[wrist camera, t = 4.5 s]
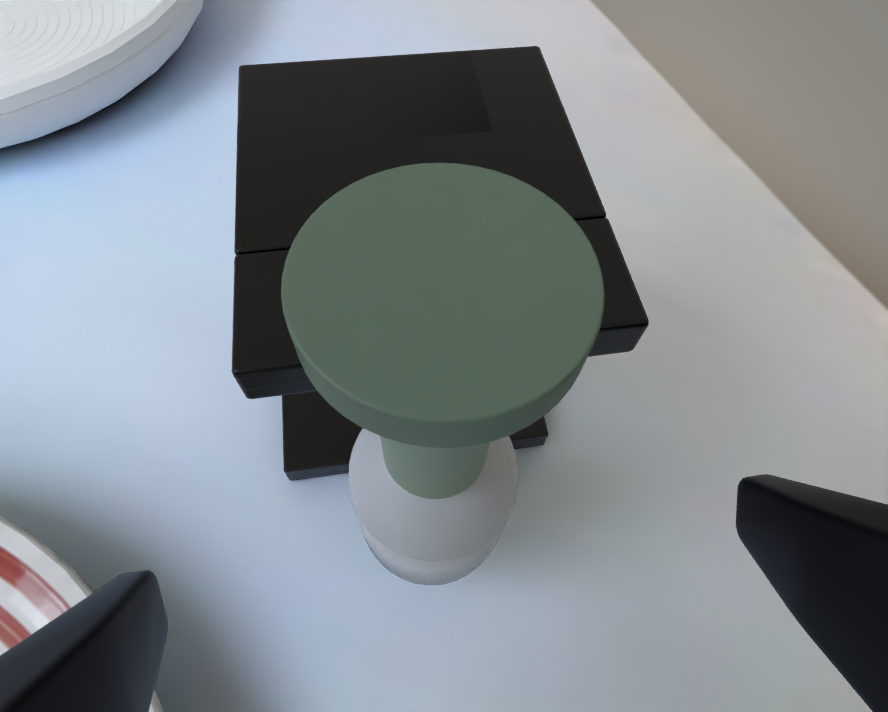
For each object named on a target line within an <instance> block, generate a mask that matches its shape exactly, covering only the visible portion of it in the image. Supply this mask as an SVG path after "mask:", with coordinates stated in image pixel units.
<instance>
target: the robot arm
mask: <svg viewBox="0 0 888 712" xmlns="http://www.w3.org/2000/svg"><path fill="white" fill-rule="evenodd" d="M736 528H737V532H738V535H739V537H740V539H741V541H742V542H743V544H744V545H745V547H746V548H747V550H748V551H749V553H750V554H751V555H752V557H753V558H754V560H755V561H756V563H757V564H758V566H759V567H760V568H761V570H762V571H763V573H764V574H765V576H766V577H767V579H768V580H769V581H770V583H771V584H772V586H773V587H774V589H775V590H776V592H777V593H778V594H779V596H780V597H781V599H782V600H783V602H784V603H785V605H786V606H787V607H788V609H789V610H790V612H791V613H792V614H793V616H794V617H795V618H796V620H797V621H798V622H799V624H800V625H801V626H802V627H803V629H804V630H805V631H806V632H807V634H808V635H809V636H810V637H811V638H812V640H813V641H814V642H815V643H816V644H817V646H818V647H819V648H820V649H821V650H822V652H823V653H824V654H825V655H826V656H827V658H828V659H829V660H830V661H831V662H832V664H833V665H834V666H835V667H836V668H837V669H838V671H839V672H840V673H841V674H842V675H843V677H844V678H845V679H846V680H847V681H848V683H849V684H850V685H851V686H852V687H853V689H854V690H855V691H856V692H857V693H858V695H859V696H860V697H861V698H862V699H863V700H864V702H865V703H866V704H867V705H868V706H869V708H870V709H871V710H872V711H873V712H888V505H887V504H883V503H879V502H875V501H871V500H867V499H863V498H859V497H855V496H851V495H847V494H843V493H840V492H836V491H832V490H828V489H824V488H820V487H816V486H812V485H808V484H804V483H800V482H796V481H792V480H788V479H784V478H780V477H776V476H772V475H767V474H765V475H757V476H751V477H745V478H743V479H742V480H741V481H740V482H739V485H738V492H737V511H736ZM167 629H168V623H167V616H166V612H165V608H164V605H163V601H162V597H161V593H160V589H159V585H158V581H157V578H156V576H155V575H154V573H153V572H151V571H150V570H144V571H138V572H131V573H125V574H122V575H119V576H118V577H116V578H115V579H113V580H112V581H110V582H109V583H107V584H106V585H104V586H103V587H101V588H100V589H98V590H97V591H95V592H94V593H92V594H91V595H89V596H88V597H86V598H85V599H83V600H82V601H80V602H79V603H77V604H76V605H74V606H73V607H71V608H70V609H69V610H67V611H66V612H64V613H63V614H61V615H60V616H58V617H57V618H55V619H54V620H52V621H51V622H49V623H48V624H46V625H45V626H43V627H42V628H40V629H39V630H37V631H36V632H34V633H33V634H31V635H30V636H28V637H27V638H25V639H24V640H22V641H21V642H19V643H18V644H17V645H15V646H14V647H12V648H11V649H9V650H8V651H6V652H5V653H3V654H2V655H0V712H149V708H150V704H151V700H152V696H153V692H154V687H155V683H156V679H157V675H158V670H159V666H160V662H161V658H162V654H163V649H164V645H165V641H166V637H167Z"/></svg>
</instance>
